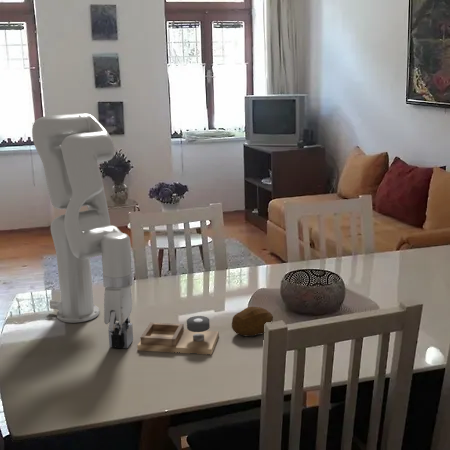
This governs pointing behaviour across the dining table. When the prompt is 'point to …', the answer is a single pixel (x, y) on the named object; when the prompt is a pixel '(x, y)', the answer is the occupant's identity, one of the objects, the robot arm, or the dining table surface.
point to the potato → (251, 321)
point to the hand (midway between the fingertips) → (121, 341)
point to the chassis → (177, 339)
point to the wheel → (198, 324)
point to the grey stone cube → (124, 334)
